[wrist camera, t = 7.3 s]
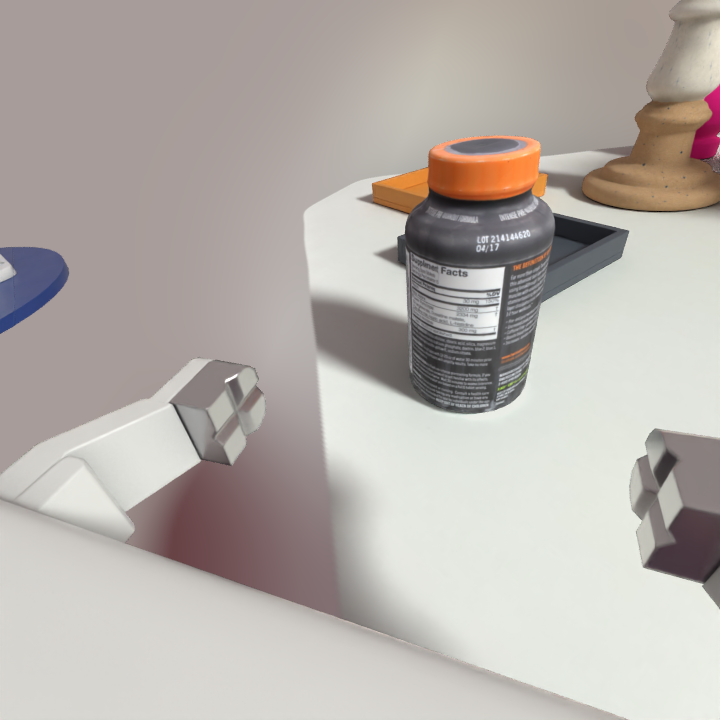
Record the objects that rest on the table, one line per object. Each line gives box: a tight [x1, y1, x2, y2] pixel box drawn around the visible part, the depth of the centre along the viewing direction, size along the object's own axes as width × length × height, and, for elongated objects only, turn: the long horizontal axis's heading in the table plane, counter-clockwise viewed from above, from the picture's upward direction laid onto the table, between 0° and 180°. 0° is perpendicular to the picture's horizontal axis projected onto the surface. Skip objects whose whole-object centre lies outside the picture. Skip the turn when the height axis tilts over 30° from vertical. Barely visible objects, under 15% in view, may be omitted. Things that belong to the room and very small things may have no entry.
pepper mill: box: [690, 84, 720, 160], centre depth 46 cm, size 7×7×20 cm
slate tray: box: [397, 213, 629, 302], centre depth 32 cm, size 12×12×2 cm
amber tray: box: [372, 167, 548, 214], centre depth 45 cm, size 13×13×2 cm
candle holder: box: [582, 0, 720, 211], centre depth 36 cm, size 12×12×20 cm
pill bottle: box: [405, 136, 555, 413], centre depth 19 cm, size 6×6×11 cm
